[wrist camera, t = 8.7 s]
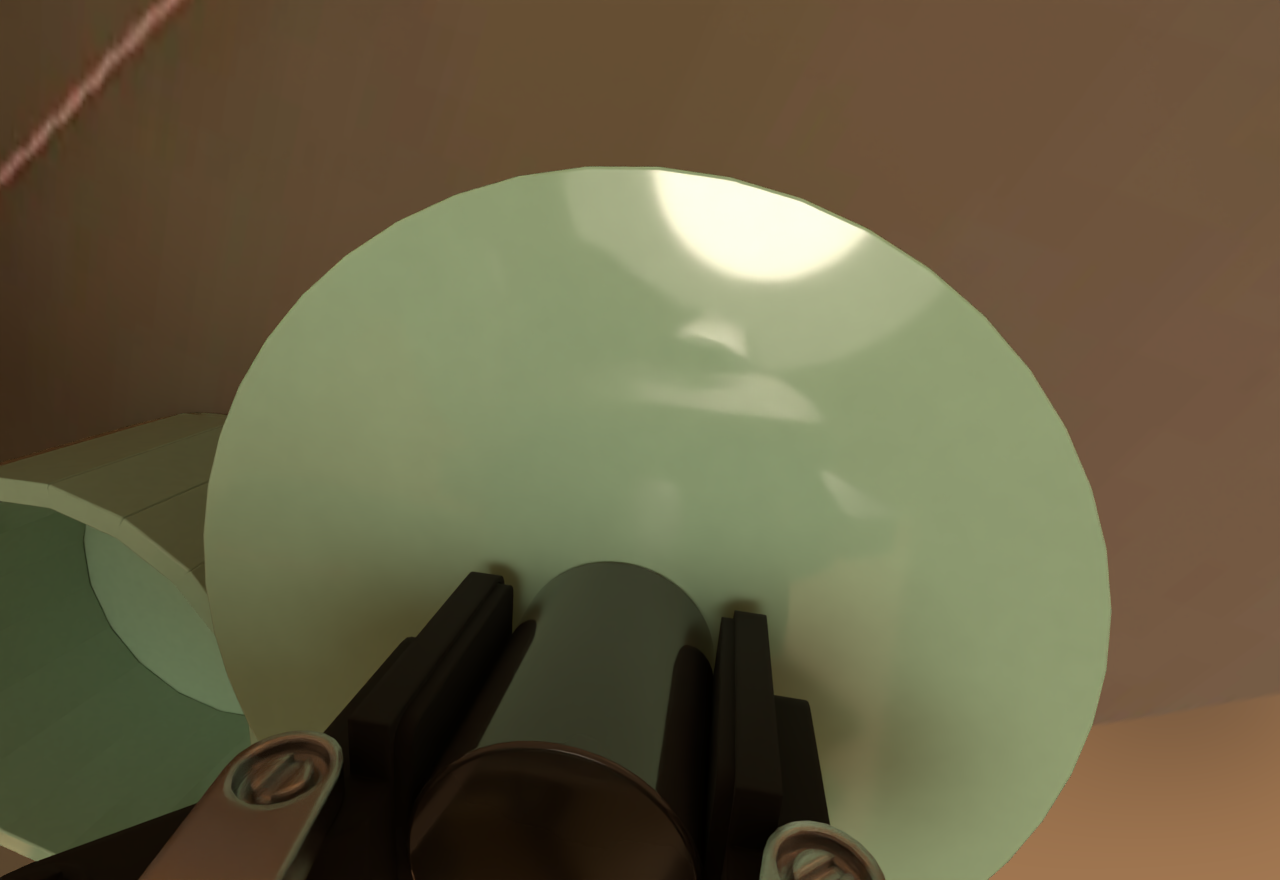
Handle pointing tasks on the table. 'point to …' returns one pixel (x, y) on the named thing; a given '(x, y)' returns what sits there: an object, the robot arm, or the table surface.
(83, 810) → the pot
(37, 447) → the table surface
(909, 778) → the pot lid
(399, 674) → the robot arm
